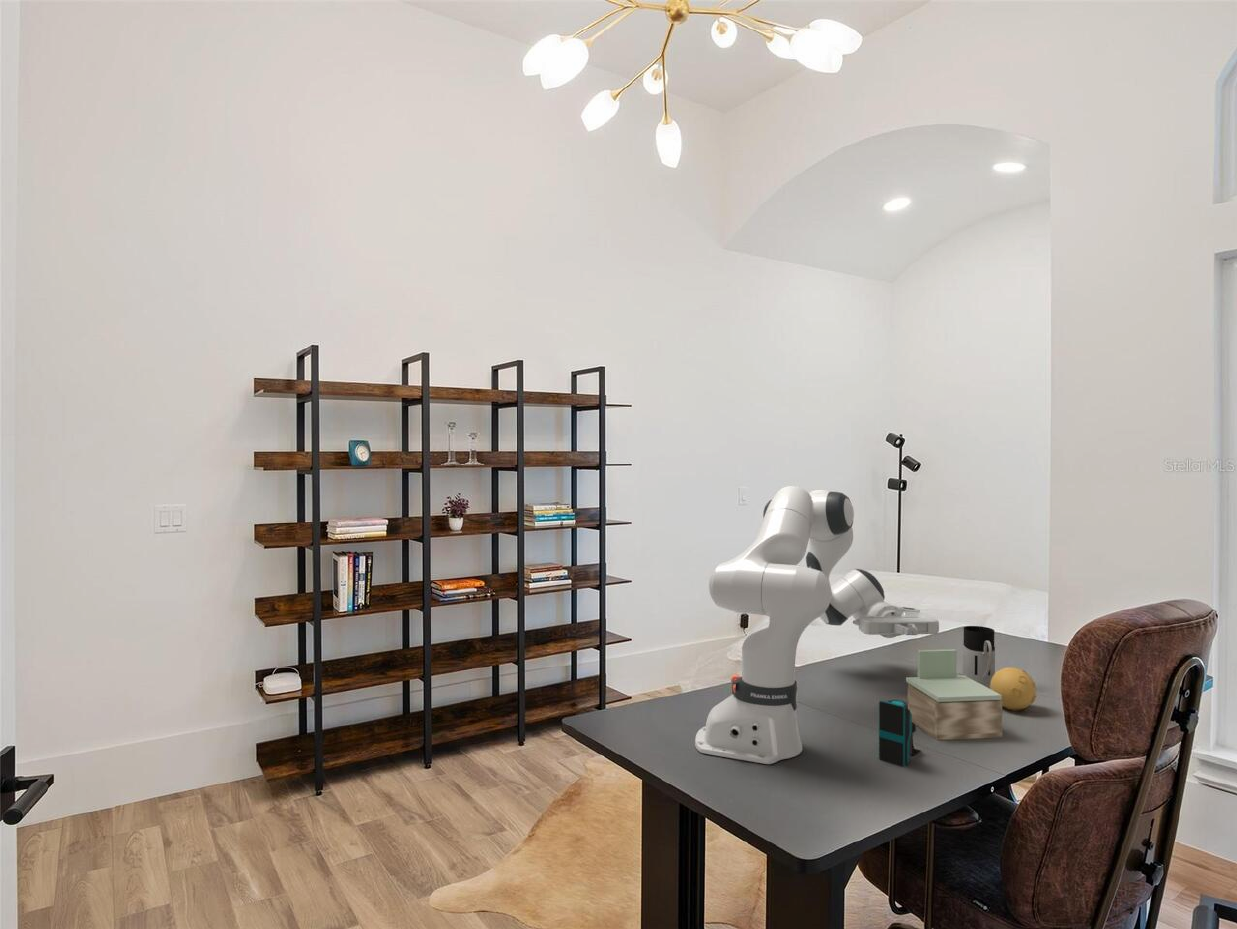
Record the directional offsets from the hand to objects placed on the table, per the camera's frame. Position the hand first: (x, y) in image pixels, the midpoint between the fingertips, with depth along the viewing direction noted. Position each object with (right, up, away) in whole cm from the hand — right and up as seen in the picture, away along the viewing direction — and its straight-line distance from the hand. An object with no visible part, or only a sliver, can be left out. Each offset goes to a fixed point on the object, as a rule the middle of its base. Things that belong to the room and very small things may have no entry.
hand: (912, 632), depth 185 cm
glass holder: (+23, -17, +10) cm, 30 cm away
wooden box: (+2, -18, -18) cm, 25 cm away
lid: (+2, -9, -18) cm, 20 cm away
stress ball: (+22, -18, -6) cm, 29 cm away
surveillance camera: (-16, -18, -34) cm, 41 cm away
